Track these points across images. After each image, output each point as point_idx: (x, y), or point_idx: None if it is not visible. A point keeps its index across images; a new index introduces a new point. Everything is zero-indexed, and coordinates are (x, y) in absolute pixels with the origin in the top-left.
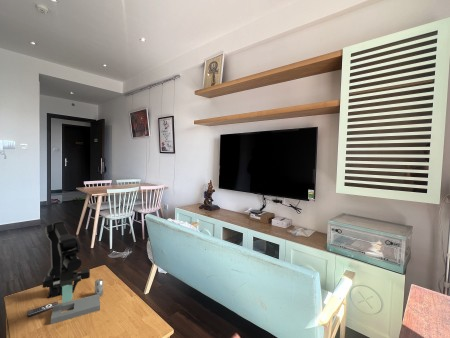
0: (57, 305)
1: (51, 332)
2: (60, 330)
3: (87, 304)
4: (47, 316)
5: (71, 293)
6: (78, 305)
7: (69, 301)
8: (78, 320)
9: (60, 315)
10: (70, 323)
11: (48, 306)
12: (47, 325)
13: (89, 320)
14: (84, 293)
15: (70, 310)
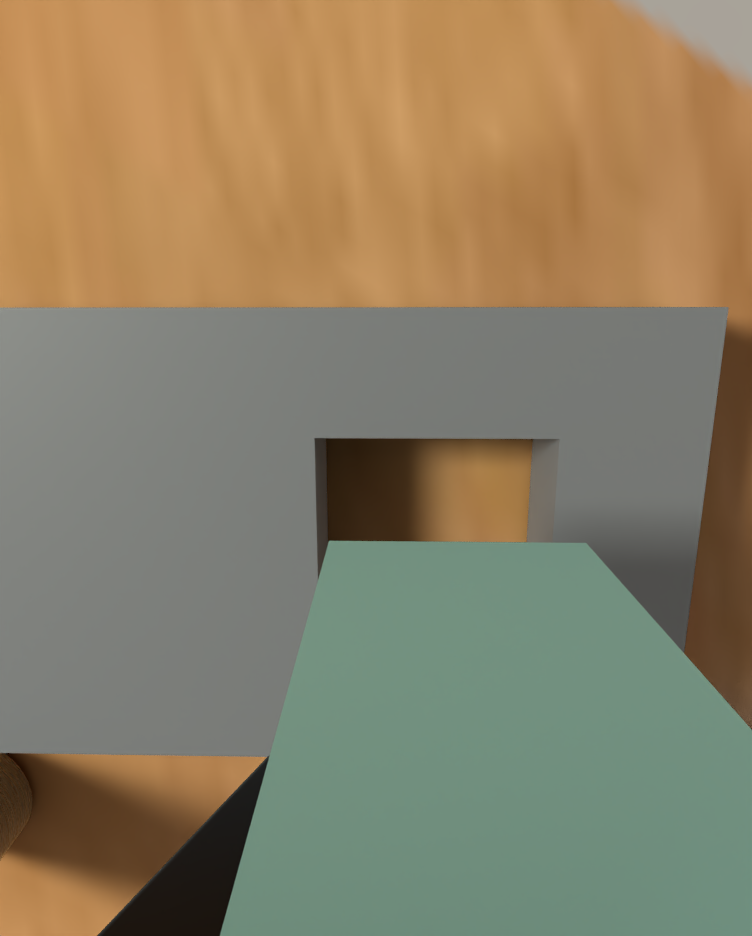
0: None
1: (654, 55)
2: (513, 31)
3: (59, 476)
4: (715, 579)
5: (322, 665)
6: (233, 530)
7: None
8: (232, 187)
9: (551, 342)
10: (359, 166)
11: None
12: None
13: (36, 75)
14: None
15: (372, 429)
